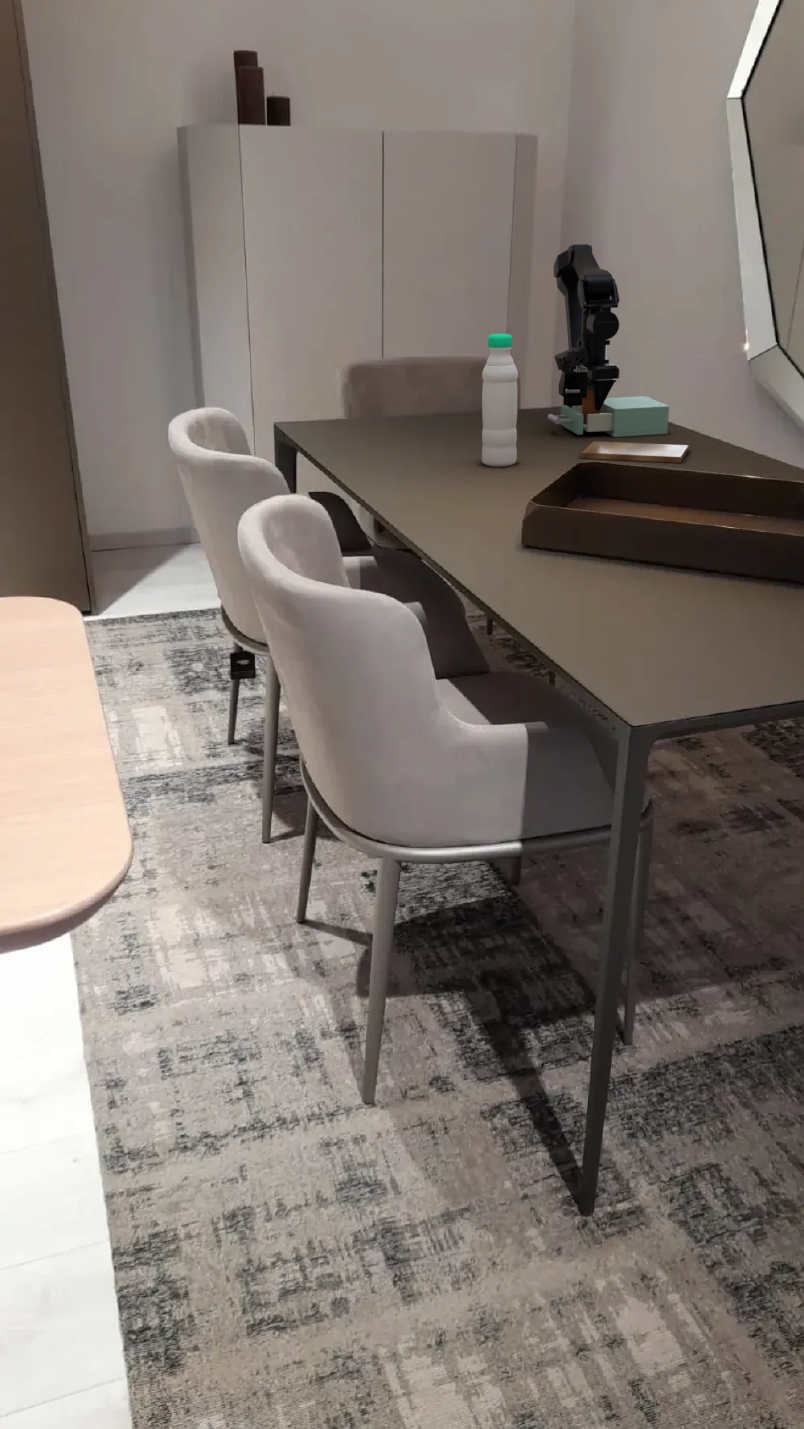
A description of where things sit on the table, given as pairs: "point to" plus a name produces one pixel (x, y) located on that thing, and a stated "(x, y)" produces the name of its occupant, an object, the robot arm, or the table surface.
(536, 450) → the table surface
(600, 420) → the drawer
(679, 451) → the board
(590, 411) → the bottle
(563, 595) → the table surface
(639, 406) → the cabinet
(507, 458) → the water bottle
